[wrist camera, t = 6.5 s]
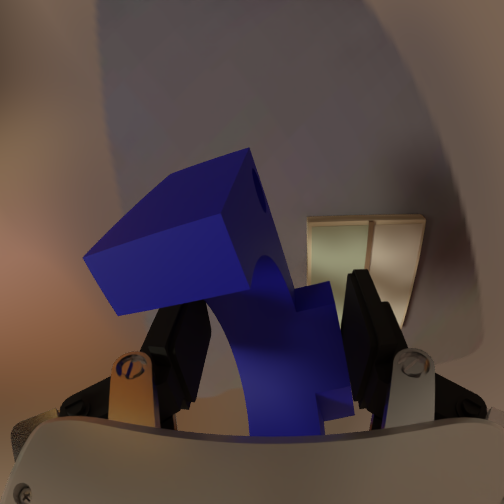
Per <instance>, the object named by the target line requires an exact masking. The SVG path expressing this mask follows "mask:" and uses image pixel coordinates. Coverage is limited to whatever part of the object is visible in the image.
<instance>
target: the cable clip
mask: <svg viewBox="0 0 504 504" xmlns="http://www.w3.org/2000/svg"><path fill="white" fill-rule="evenodd" d="M83 259H84V261H85V263H86V265H87V266H88V268H89V270H90V272H91V273H92V275H93V277H94V278H95V280H96V282H97V284H98V285H99V287H100V288H101V290H102V292H103V293H104V295H105V297H106V298H107V300H108V301H109V303H110V305H111V306H112V308H113V309H114V311H115V312H116V314H117V315H118V316H121V315H126V314H131V313H137V312H142V311H147V310H153V309H158V308H163V307H168V306H173V305H178V304H183V303H188V302H193V301H197V300H202V299H204V301H205V302H206V303H207V304H208V306H209V307H210V308H211V310H212V311H213V313H214V314H215V316H216V317H217V319H218V321H219V323H220V324H221V326H222V328H223V330H224V332H225V335H226V337H227V339H228V341H229V344H230V346H231V349H232V352H233V355H234V357H235V360H236V364H237V367H238V370H239V374H240V378H241V382H242V386H243V390H244V395H245V400H246V407H247V413H248V421H249V433H250V436H259V437H288V436H315V435H325V430H324V421H328V420H334V419H339V418H343V417H348V416H353V415H355V414H354V406H353V399H352V392H351V385H350V379H349V373H348V368H347V362H346V357H345V352H344V347H343V340H342V335H341V330H340V325H339V320H338V315H337V310H336V305H335V300H334V296H333V292H332V288H331V284H330V281H326V282H322V283H317V284H313V285H309V286H305V287H301V288H296V289H294V286H293V282H292V279H291V276H290V272H289V269H288V266H287V263H286V259H285V256H284V253H283V250H282V247H281V243H280V240H279V237H278V234H277V231H276V227H275V224H274V221H273V218H272V215H271V212H270V209H269V206H268V203H267V199H266V196H265V193H264V190H263V187H262V184H261V181H260V178H259V175H258V172H257V169H256V166H255V163H254V160H253V157H252V154H251V151H250V148H246V149H242V150H239V151H236V152H233V153H230V154H227V155H224V156H220V157H217V158H214V159H211V160H209V161H206V162H203V163H200V164H197V165H194V166H191V167H188V168H186V169H183V170H180V171H177V172H175V173H172V174H170V175H169V176H168V177H166V178H165V179H164V180H163V181H162V182H161V183H159V184H158V185H157V186H156V187H155V188H154V189H153V190H152V191H150V192H149V193H148V194H147V195H146V196H145V197H144V198H143V199H142V200H141V201H139V202H138V203H137V204H136V205H135V206H134V207H133V208H132V209H131V210H130V211H129V212H128V213H127V214H126V215H125V216H123V217H122V218H121V219H120V220H119V222H117V223H116V224H115V225H114V226H113V227H112V228H111V229H110V230H109V231H108V232H107V233H106V234H105V235H104V236H103V237H102V238H101V239H100V240H99V241H98V242H97V243H96V244H95V245H94V246H93V247H92V248H91V250H89V251H88V252H87V254H86V255H85V256H84V257H83Z"/></svg>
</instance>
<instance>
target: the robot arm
mask: <svg viewBox="0 0 504 504" xmlns="http://www.w3.org/2000/svg"><path fill="white" fill-rule="evenodd" d="M341 335H342V340H343V347H344V352H345V357H346V362H347V368H348V373H349V379H350V384H351V390H352V396H353V400H354V401H358V403H359V409H364V408H367V410H368V411H369V412H371V413H372V418H371V423H370V428H369V431H363V432H353V433H343V434H331V435H315V436H288V437H259V436H232V435H216V434H203V433H194V432H184V431H178V430H177V421H176V414H175V413H177V412H179V411H180V409H187V410H189V407H190V403H191V402H195V400H196V397H197V393H198V388H199V384H200V380H201V376H202V371H203V367H204V363H205V359H206V355H207V350H208V346H209V342H210V338H211V325H210V321H209V316H208V311H207V306H206V302H205V301H204V299H202V300H197V301H193V302H188V303H183V304H178V305H173V306H168V307H163V308H159V310H158V312H157V314H156V317H155V319H154V321H153V323H152V325H151V327H150V330H149V332H148V334H147V336H146V338H145V341H144V343H143V345H142V347H141V350H140V352H139V351H132V352H128V353H125V354H123V355H121V356H120V357H118V358H117V359H116V360H115V362H114V363H113V366H112V370H111V376H110V377H108V378H106V379H104V380H102V381H100V382H98V383H96V384H94V385H92V386H90V387H88V388H86V389H84V390H82V391H80V392H78V393H76V394H74V395H72V396H70V397H69V398H67V399H66V400H65V401H64V402H63V403H62V406H61V407H60V410H57V409H56V408H54V409H52V410H49V411H47V412H44V413H42V414H39V415H37V416H34V417H31V418H29V419H26V420H24V421H21V422H19V423H17V424H16V425H15V426H14V427H13V430H12V432H11V443H12V449H13V455H14V460H15V464H14V466H13V469H12V471H11V473H10V476H9V478H8V481H7V484H6V487H5V489H4V492H3V495H2V498H1V501H0V504H504V412H503V411H501V410H498V409H496V408H494V407H491V409H488V408H487V407H486V404H485V402H484V401H483V399H482V398H481V397H480V396H478V395H477V394H475V393H473V392H471V391H469V390H467V389H465V388H463V387H461V386H459V385H457V384H456V383H454V382H452V381H450V380H448V379H446V378H444V377H442V376H440V375H438V374H436V373H435V366H434V361H433V360H432V358H431V356H429V355H428V354H427V353H426V352H424V351H422V350H420V349H416V348H408V346H407V344H406V341H405V339H404V336H403V334H402V331H401V329H400V326H399V324H398V322H397V319H396V317H395V314H394V312H393V310H392V307H391V305H390V303H389V302H388V301H383V302H381V299H380V297H379V294H378V292H377V290H376V287H375V285H374V282H373V280H372V278H371V276H370V273H369V271H368V269H353V271H352V273H348V275H347V282H346V291H345V299H344V306H343V313H342V320H341Z"/></svg>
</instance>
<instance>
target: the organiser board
mask: <svg viewBox="0 0 504 504" xmlns="http://www.w3.org/2000/svg"><path fill="white" fill-rule="evenodd" d="M425 224H426V219H425V218H424V217H423V216H422V215H421V214H389V215H344V216H313V217H307V286H309V285H313V284H317V283H322V282H326V281H330V284H331V288H332V292H333V296H334V300H335V305H336V310H337V315H338V320H339V325H340V330H341V320H342V313H343V306H344V299H345V291H346V282H347V275H348V273H352V271H353V269H368V271H369V273H370V276H371V278H372V280H373V282H374V285H375V287H376V290H377V292H378V294H379V297H380V299H381V302H383V301H388V302H389V303H390V305H391V307H392V310H393V312H394V314H395V317H396V319H397V322H398V324H399V326H400V329H401V328H402V325H403V322H404V318H405V315H406V311H407V307H408V304H409V300H410V296H411V292H412V288H413V284H414V279H415V275H416V271H417V266H418V261H419V257H420V252H421V246H422V241H423V236H424V230H425Z"/></svg>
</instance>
